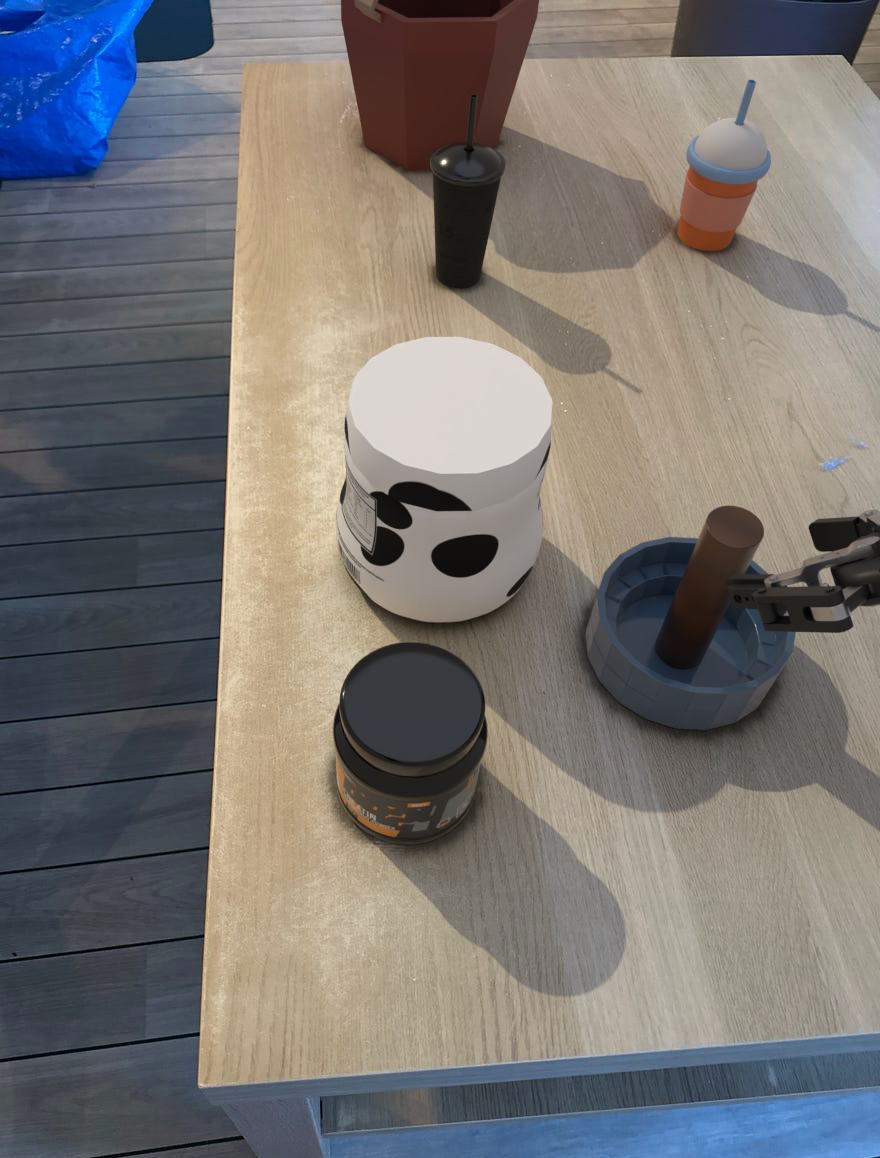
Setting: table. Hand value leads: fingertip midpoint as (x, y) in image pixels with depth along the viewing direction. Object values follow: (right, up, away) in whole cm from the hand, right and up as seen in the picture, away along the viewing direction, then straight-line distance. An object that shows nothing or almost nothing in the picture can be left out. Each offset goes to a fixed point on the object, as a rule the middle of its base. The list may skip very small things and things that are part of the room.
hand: (773, 562), depth 68 cm
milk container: (-22, +2, +20) cm, 30 cm away
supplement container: (-25, -16, +7) cm, 31 cm away
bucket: (-21, +59, +60) cm, 87 cm away
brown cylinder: (-3, -6, +14) cm, 15 cm away
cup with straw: (+10, +42, +49) cm, 65 cm away
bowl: (-3, -7, +14) cm, 16 cm away
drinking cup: (-19, +35, +43) cm, 59 cm away
